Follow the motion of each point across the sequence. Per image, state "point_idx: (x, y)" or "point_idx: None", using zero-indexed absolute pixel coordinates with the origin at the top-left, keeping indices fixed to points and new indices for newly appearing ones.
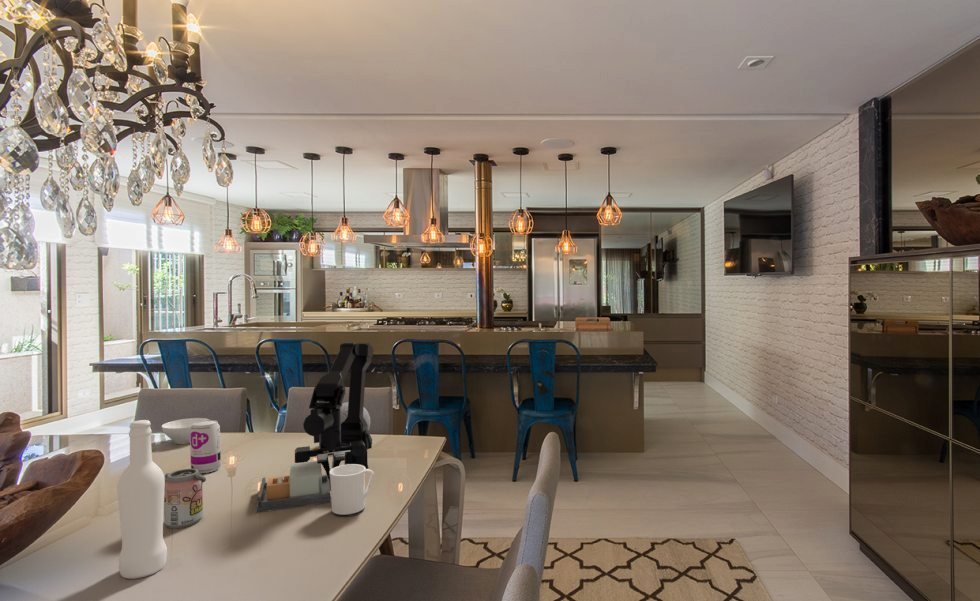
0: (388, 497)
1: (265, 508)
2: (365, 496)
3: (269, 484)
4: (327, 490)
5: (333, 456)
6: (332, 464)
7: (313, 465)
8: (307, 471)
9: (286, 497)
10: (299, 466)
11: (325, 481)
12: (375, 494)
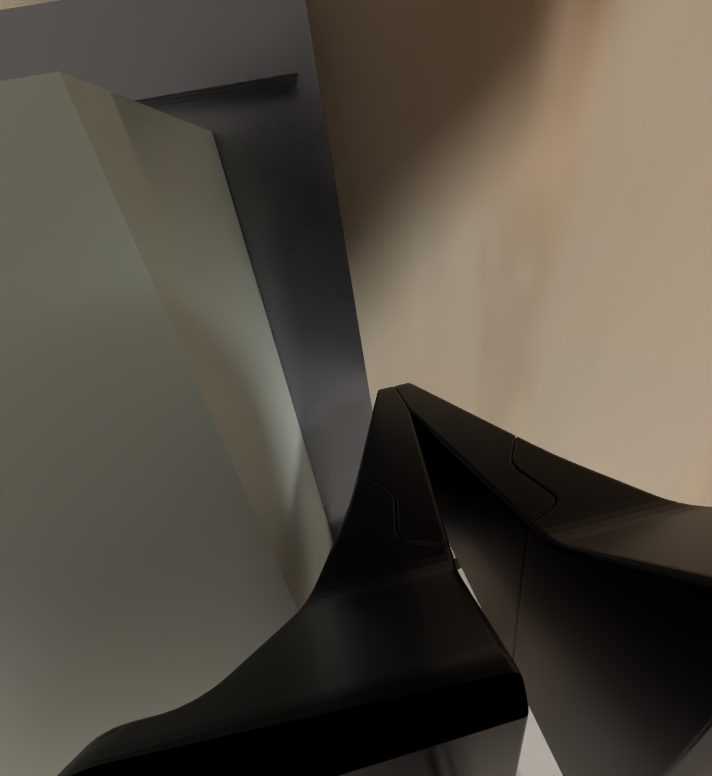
0: (700, 484)
1: None
2: None
3: None
4: (357, 449)
5: (673, 771)
6: (511, 576)
7: (55, 526)
8: (116, 726)
9: None
10: None
11: (287, 174)
12: (659, 443)
